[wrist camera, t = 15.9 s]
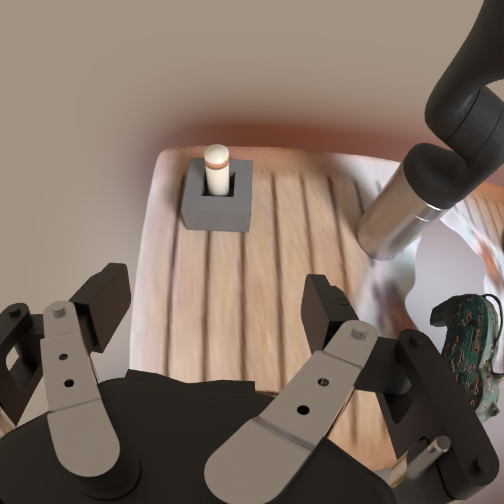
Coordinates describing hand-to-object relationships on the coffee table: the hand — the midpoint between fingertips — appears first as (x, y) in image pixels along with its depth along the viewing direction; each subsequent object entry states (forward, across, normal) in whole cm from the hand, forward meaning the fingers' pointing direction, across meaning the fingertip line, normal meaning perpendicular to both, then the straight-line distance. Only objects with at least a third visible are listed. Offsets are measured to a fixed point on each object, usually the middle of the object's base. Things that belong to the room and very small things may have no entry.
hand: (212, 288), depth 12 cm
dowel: (+35, +3, +4) cm, 35 cm away
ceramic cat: (+18, -33, +23) cm, 44 cm away
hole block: (+36, +3, +4) cm, 36 cm away
